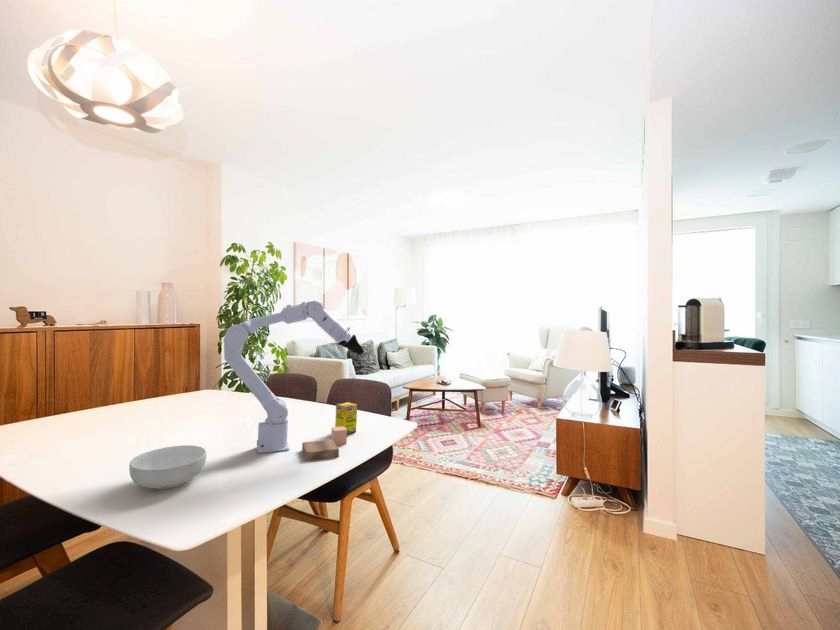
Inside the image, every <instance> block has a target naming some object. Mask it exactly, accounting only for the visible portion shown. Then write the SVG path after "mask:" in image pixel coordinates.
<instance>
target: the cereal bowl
mask: <svg viewBox="0 0 840 630" xmlns="http://www.w3.org/2000/svg"><path fill="white" fill-rule="evenodd" d="M206 461H207V450H206V448H205V447H202V446H198V445H175V446H174V445H173V446H168V447H167V446H166V447H161V448H157V449H153V450H149V451H145V452H143V453H140V454H139V455H137V456H135V457H133V458H132V459H131V460H130V461H129V470H128V471H129V476H130V479H131V480H132V482H133V483H135V484H136V485H138V486H140V487H144V488H148V489H150V488H151V489H154V490H168V489H174V488H176V487H179V486H181V485H184V484H185V483H186V482H187V481H190V480H192V479H193V478H195V477H196V476H197V475H199V474H200V473H201V472H202V470H203V469H204V467H205V465H206Z"/></svg>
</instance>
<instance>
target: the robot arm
mask: <svg viewBox="0 0 840 630" xmlns="http://www.w3.org/2000/svg"><path fill="white" fill-rule="evenodd" d="M308 318H309V319H312V320H313V321H314V323H316V325H317V326H318V327H319V328H320V329H322V330H323V331H324V332H325V333H326V334H327V335H328V336H330V338H331V339H333V340H334V342H335V343H337V346H338V345H339V346H342V348H346V349H348V350H349V351H350V352H351V353H354V354H356V355H359V356H361V355H362V354H363V353H364V352H365V350H364V349H363V347H362V346H361V344H360V343H359V341H358V339H357V336H356V335H355V334H353V335H351V334H350V333H349V332H350V330H351V327H350V326H348V327H347V328H346V327H345V326H344V325H343V324H341V322H339V321H338V319H336V318H335V316H333V315H332V314H331V313H330V312H328V311H327V309H325V308H324V306H323V303H321V302H319V301H316V300H311V301H307V302H306V301H302V302H301V303H299V304H295V305H294V304H293V305H291V304H287V305H286V306H285V307H283V308H282V310H281V311H280V312H277V313H273V314H268V315H267V314H266V315H263V316H257V317H253V318H249V319H247V320H244V321H242V322H240V323H239V324H233V325H231V326H230V327H228V328H227V330H226V332H225V334H224V336H223V349H224V350H223V352H224V353H223V354H224V355H223V356H224V357H223V358H224V360H225V362H226V363H227V365H229V367H230V368H231V369H232V370H233V372H234V373H235V374H236V375H237V376H238V377H239V379H240V380H241V382H243V383H244V385H245V386H246V387H247V388H248V390H249V391H250V392H251V394H252V395H254V397H255V398H256V399H257V401H258V402H259V403H260V405H261V406H262V408H263V410H264V411H265V412H266V415H267V417H266V418H265V419H264V421H263V422H259V423H258V425H257V426H258V429H257V439H256V446H257V453H258V454H262V453H263V454H264V453H272V452H273V453H274V452H280V451H289V450H290V447H289V443H288V431H289V430H288V429H289V428H288V427H289V426H288V425H289V418H288V415H289V410H288V408H287V405H286V402H285V401H284V400H282V399H280V398H279V397H277V396H276V395H275V394H274V393H273V392H272V391H271V389H270V388H269V387H268V386H267V385H266V383H265V382H264V381H263V379H261V377H260V376H259V375H258V373H256V371H255V370H254V369H253V367H252V366H251V365H250V364H249V363H248V361H247V360H246V358H245V357H243V355H242V353H243V350H244V345H245V343H246V342H247V340H248V337H249V333H250V334H251V335H252V334H253V333H254V332H256V330H258V329H260V328H263V327H267V326H269V325H273V324H274V325H275V324H278V323H281V322H282V323H284V324H287V325H291V324H294V323H298V322H302V321H305V320H307V319H308Z"/></svg>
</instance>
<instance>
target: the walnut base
mask: <svg viewBox="0 0 840 630" xmlns="http://www.w3.org/2000/svg"><path fill="white" fill-rule="evenodd" d="M301 444H302V446H301V451H302V453H303V456H304V459H305V461H307V462H308V461H316V460H323V459H331V458H338V457H339V456H340V454H339V452H340V449H339V447H338V445H336V444H335V442H334V441H333V440H331V439H325V440H324V439H323V440H315V441H306V442H302V443H301ZM339 458H340V457H339Z"/></svg>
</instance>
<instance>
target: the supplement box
mask: <svg viewBox="0 0 840 630" xmlns="http://www.w3.org/2000/svg"><path fill="white" fill-rule="evenodd" d="M357 413H358V404H357V403H352V402H347V401H346V402H343V403H337V404H336V405H335V423H334V427H342V426H344V427H345V428H346V429H347V435H351V434H353V433H357V417H358V414H357Z"/></svg>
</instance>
